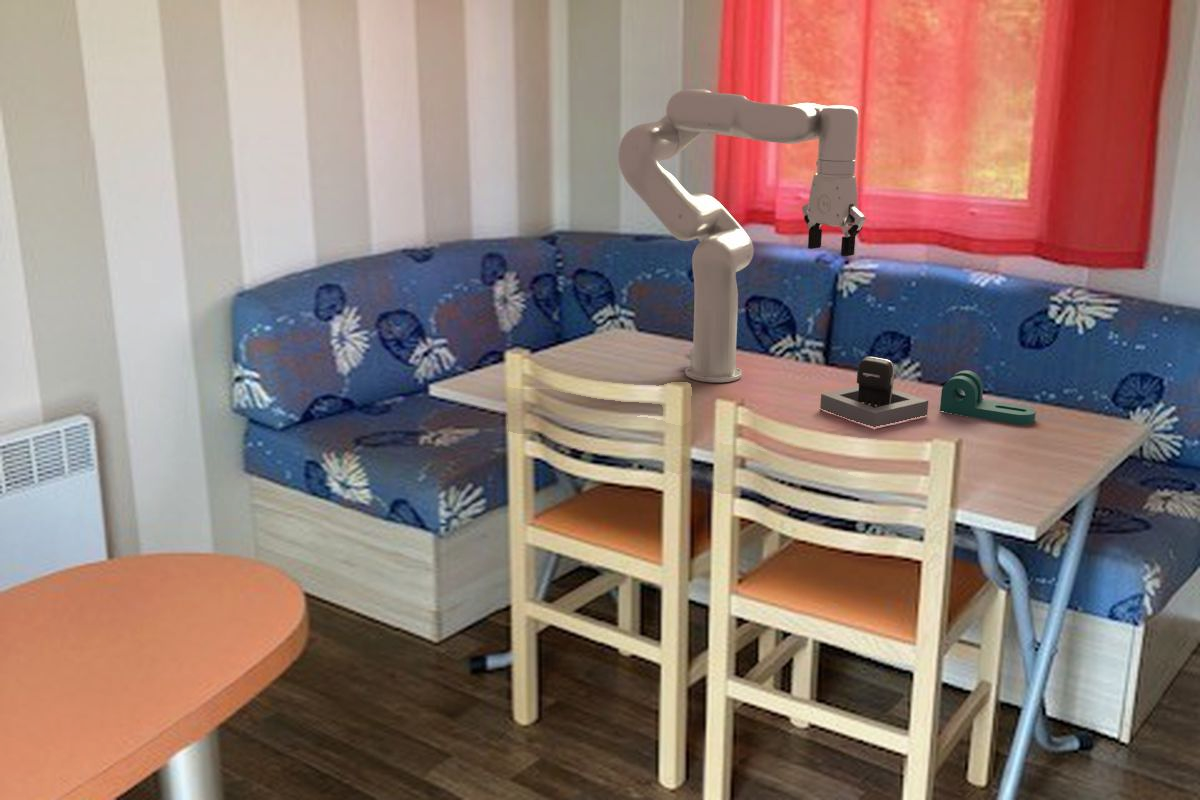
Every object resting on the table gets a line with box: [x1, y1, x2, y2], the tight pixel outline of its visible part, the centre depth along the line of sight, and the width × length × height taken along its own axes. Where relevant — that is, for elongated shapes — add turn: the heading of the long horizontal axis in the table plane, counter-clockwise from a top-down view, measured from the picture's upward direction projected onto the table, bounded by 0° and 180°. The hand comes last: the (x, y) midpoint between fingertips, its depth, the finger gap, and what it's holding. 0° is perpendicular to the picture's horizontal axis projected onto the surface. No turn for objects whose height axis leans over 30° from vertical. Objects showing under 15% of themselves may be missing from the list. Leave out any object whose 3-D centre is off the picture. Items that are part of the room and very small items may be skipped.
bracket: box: [939, 369, 1037, 426], centre depth 248 cm, size 18×7×8 cm, turn 60°
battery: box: [856, 356, 895, 408], centre depth 247 cm, size 7×4×11 cm, turn 54°
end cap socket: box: [819, 385, 929, 427], centre depth 248 cm, size 15×15×4 cm
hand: (830, 251), depth 254 cm, fingers open, 9 cm apart
